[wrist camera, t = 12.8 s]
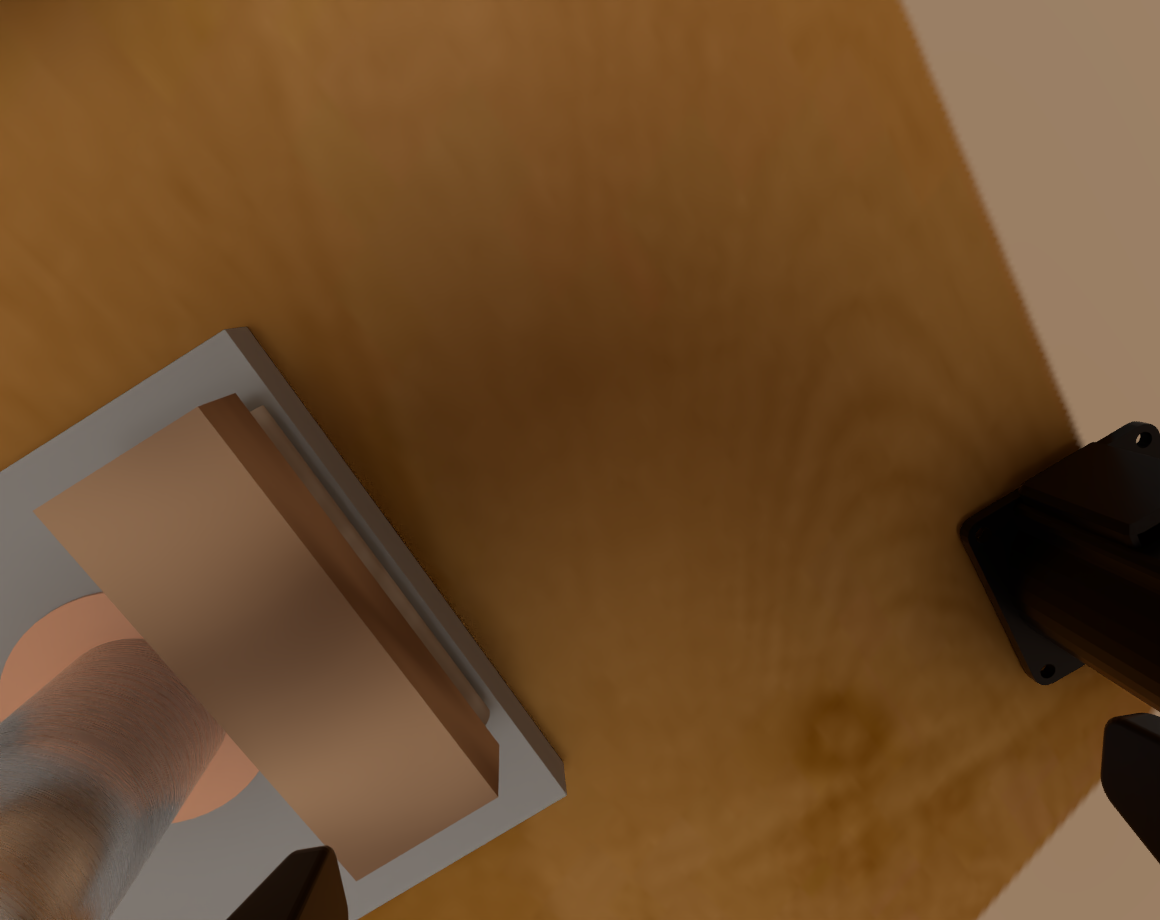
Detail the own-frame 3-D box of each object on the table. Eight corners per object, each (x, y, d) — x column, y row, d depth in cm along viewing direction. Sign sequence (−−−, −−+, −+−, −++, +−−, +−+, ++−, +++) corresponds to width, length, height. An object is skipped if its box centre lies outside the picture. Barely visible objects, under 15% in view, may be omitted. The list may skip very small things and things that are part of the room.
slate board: (563, 762, 23) (567, 799, 21) (172, 995, 23) (146, 1048, 22) (246, 326, 19) (221, 329, 17) (-214, 619, 19) (-282, 649, 18)
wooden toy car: (500, 710, 20) (498, 796, 17) (382, 781, 20) (356, 881, 17) (259, 383, 18) (197, 406, 14) (126, 468, 18) (32, 511, 14)
